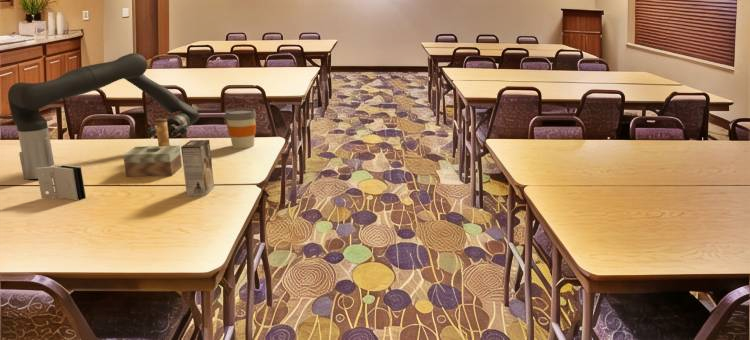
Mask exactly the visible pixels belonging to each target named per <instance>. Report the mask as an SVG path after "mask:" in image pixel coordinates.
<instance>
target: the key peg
mask: <svg viewBox="0 0 750 340" xmlns="http://www.w3.org/2000/svg"><path fill="white" fill-rule="evenodd" d="M167 119H168V118H156V119H154V122H155V126H156V129H157V131H156V133H157V135H156V137H157V144H158V145H157V146H171V145H170V136H169V135H168V126H167Z"/></svg>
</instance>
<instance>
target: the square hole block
mask: <svg viewBox="0 0 750 340" xmlns="http://www.w3.org/2000/svg"><path fill="white" fill-rule="evenodd" d="M122 157H123V162H124V171H125V177H126V178H130V177H131V178H134V177H135V178H136V177H139V178H140V177H169V176H170V177H171V176H173V175H175V174H176V173H177V172H178V171H179V170H180V169H181V168H182V167H183V165H182V164H183V162H182V153H181V146H180V145H170V146H159V145H154V146H151V145H150V146H149V145H148V146H135V147H133V148H131V149H130V150H129V151H127V152H125V153H124V154H123V155H122Z"/></svg>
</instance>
